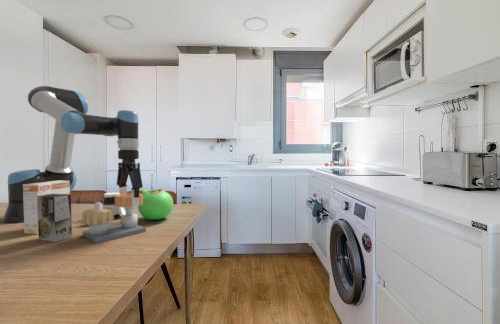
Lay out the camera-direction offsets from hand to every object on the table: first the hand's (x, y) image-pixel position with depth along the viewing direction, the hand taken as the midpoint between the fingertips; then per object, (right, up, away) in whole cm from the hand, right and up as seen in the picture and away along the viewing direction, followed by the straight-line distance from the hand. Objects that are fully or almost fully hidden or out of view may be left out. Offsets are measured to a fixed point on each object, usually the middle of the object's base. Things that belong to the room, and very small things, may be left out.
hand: (129, 204), depth 106 cm
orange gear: (0, 0, 0) cm, 0 cm away
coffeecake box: (-35, -11, +3) cm, 37 cm away
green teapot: (+4, -10, +19) cm, 22 cm away
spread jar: (-17, -10, +23) cm, 31 cm away
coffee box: (-23, -11, -10) cm, 27 cm away
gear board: (-4, -11, -4) cm, 12 cm away
